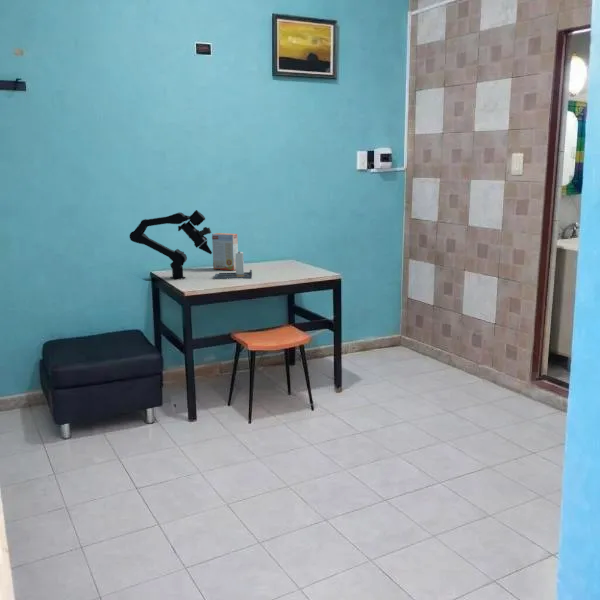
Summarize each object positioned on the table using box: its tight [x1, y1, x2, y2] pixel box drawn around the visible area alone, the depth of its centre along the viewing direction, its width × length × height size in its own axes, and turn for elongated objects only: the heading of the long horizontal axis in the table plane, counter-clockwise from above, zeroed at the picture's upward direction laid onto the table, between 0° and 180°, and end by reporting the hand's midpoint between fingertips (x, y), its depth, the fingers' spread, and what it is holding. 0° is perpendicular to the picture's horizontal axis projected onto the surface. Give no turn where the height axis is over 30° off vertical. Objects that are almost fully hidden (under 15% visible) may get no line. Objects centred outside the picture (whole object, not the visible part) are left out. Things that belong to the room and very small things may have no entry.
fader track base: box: [213, 269, 253, 280], centre depth 353 cm, size 20×10×3 cm, turn 93°
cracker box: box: [211, 232, 239, 271], centre depth 376 cm, size 14×6×21 cm, turn 65°
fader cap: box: [235, 250, 245, 275], centre depth 352 cm, size 4×5×13 cm
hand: (211, 253), depth 348 cm, fingers closed
